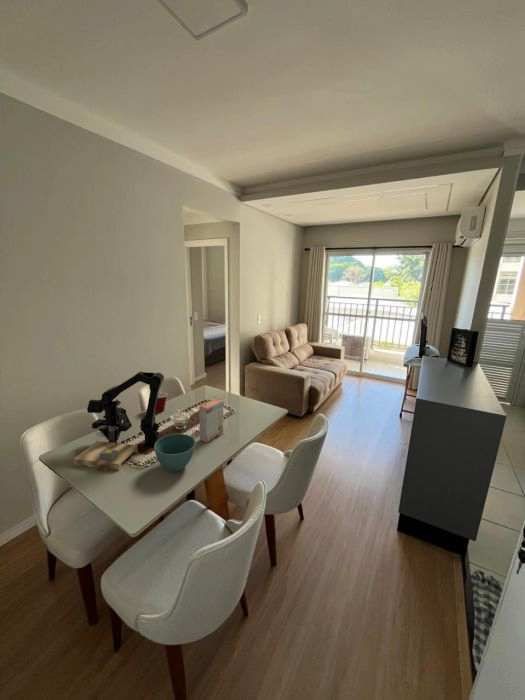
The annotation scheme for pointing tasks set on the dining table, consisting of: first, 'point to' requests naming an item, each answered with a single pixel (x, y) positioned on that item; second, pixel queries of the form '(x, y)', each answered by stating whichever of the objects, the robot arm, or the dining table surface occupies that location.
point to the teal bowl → (174, 451)
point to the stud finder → (108, 454)
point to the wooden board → (93, 460)
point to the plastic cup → (161, 402)
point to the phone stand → (126, 419)
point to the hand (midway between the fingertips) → (112, 439)
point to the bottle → (111, 435)
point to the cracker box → (211, 419)
